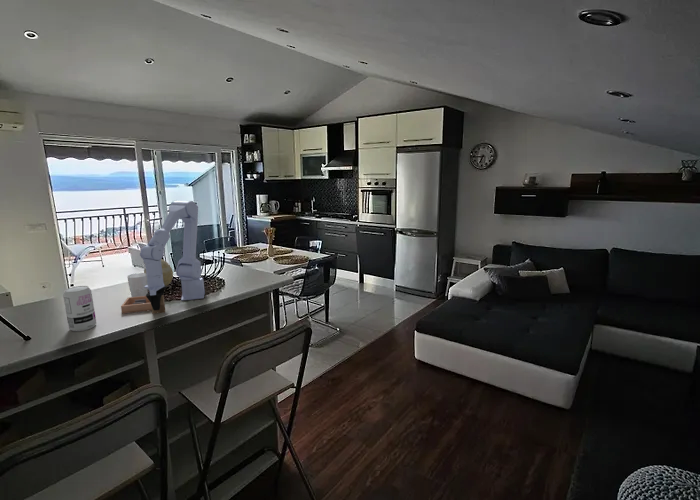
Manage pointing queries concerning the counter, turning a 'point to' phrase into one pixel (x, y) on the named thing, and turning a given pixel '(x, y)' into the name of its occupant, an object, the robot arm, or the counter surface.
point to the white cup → (138, 284)
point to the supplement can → (79, 308)
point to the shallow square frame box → (136, 305)
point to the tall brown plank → (162, 306)
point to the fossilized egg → (166, 272)
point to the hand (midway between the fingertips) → (158, 306)
